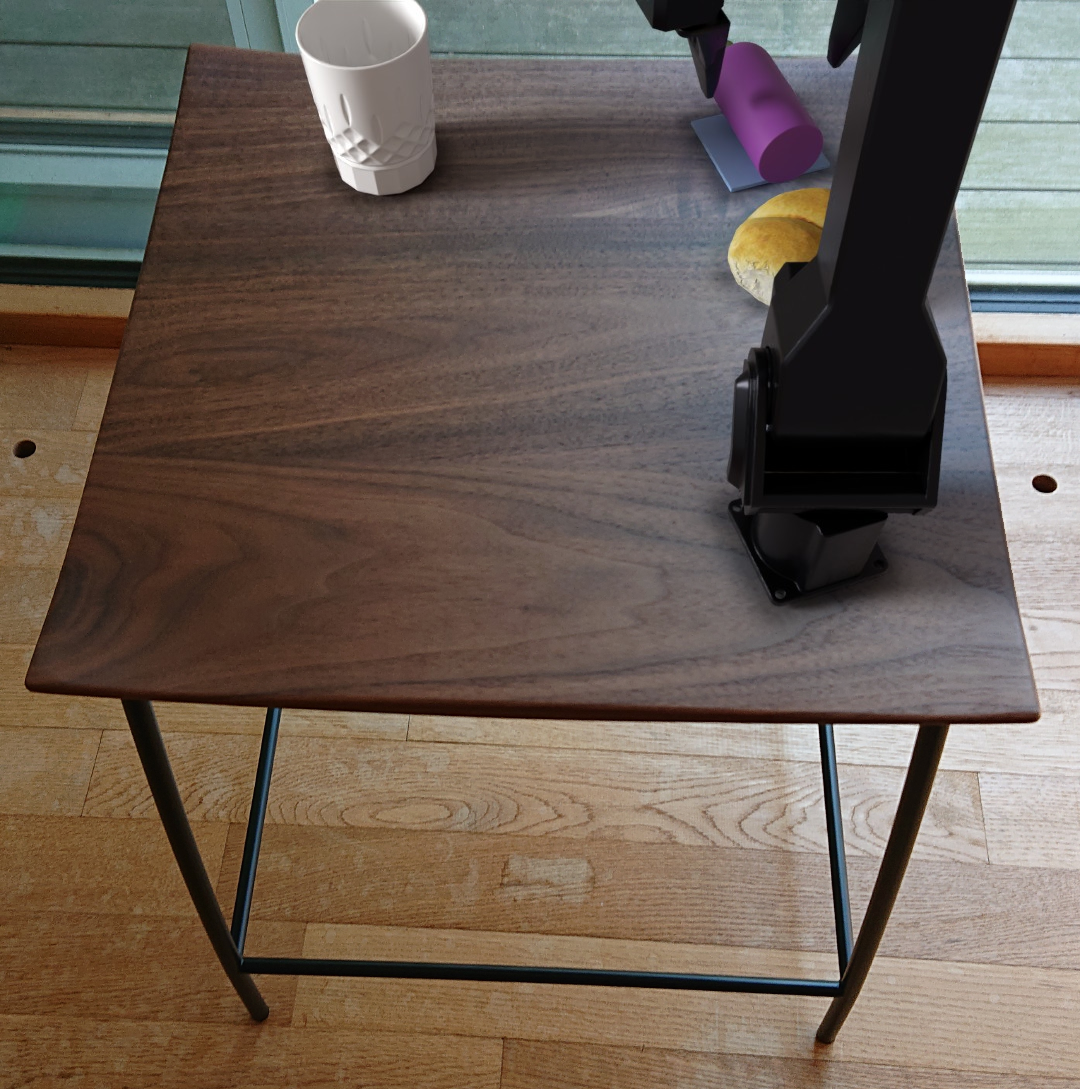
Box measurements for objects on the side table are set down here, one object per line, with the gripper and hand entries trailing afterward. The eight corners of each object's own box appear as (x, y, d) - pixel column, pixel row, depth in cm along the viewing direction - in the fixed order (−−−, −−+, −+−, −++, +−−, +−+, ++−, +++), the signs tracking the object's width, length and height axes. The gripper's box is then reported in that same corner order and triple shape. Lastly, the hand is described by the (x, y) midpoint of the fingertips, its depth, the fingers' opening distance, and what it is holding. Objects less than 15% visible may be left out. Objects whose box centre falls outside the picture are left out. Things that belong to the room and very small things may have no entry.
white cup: (315, 140, 74) (281, 4, 66) (425, 110, 75) (405, -27, 67) (346, 216, 70) (314, 83, 62) (461, 183, 72) (445, 48, 63)
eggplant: (777, 123, 66) (708, 16, 71) (747, 183, 69) (684, 76, 75) (836, 126, 68) (764, 21, 73) (804, 184, 71) (738, 80, 76)
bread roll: (897, 256, 67) (915, 206, 64) (811, 338, 64) (824, 291, 61) (790, 194, 70) (801, 143, 67) (702, 270, 67) (709, 221, 64)
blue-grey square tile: (829, 167, 71) (830, 163, 71) (730, 192, 70) (731, 189, 70) (785, 101, 75) (786, 98, 74) (690, 124, 74) (691, 121, 74)
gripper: (910, -295, 60) (849, -25, 73) (590, -231, 57) (588, 35, 71) (1014, -196, 54) (927, 76, 68) (666, -122, 52) (648, 144, 65)
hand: (770, 79), depth 68 cm, fingers open, 8 cm apart
